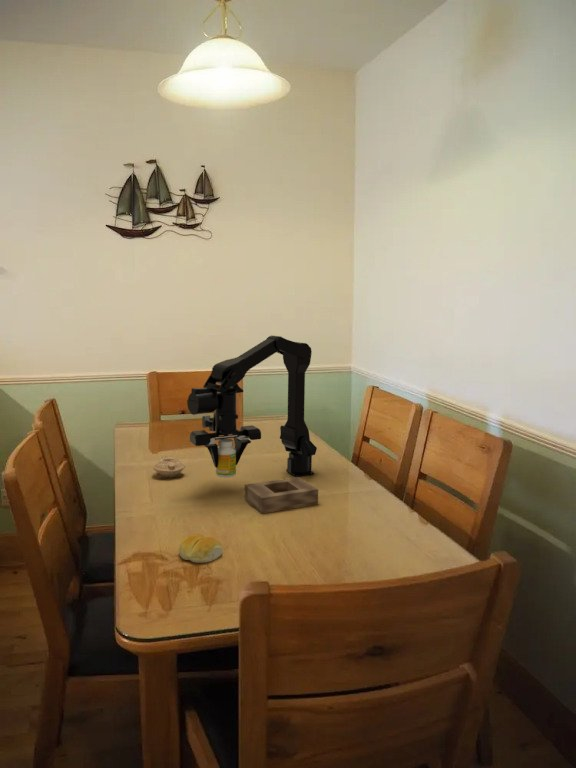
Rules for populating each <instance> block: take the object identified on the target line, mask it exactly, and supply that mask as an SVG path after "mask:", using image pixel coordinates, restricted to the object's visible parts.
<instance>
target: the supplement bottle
mask: <svg viewBox="0 0 576 768" xmlns="http://www.w3.org/2000/svg"><path fill="white" fill-rule="evenodd" d="M217 445H218V466H217V468H216V467H215V475H216V476H217V477H218V478H224V479H225V478H233V477H235V476H236V474H237V465H236V450H235V446H234V439H232V438H227V439H218V444H217ZM233 446H234V447H233Z"/></svg>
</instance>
